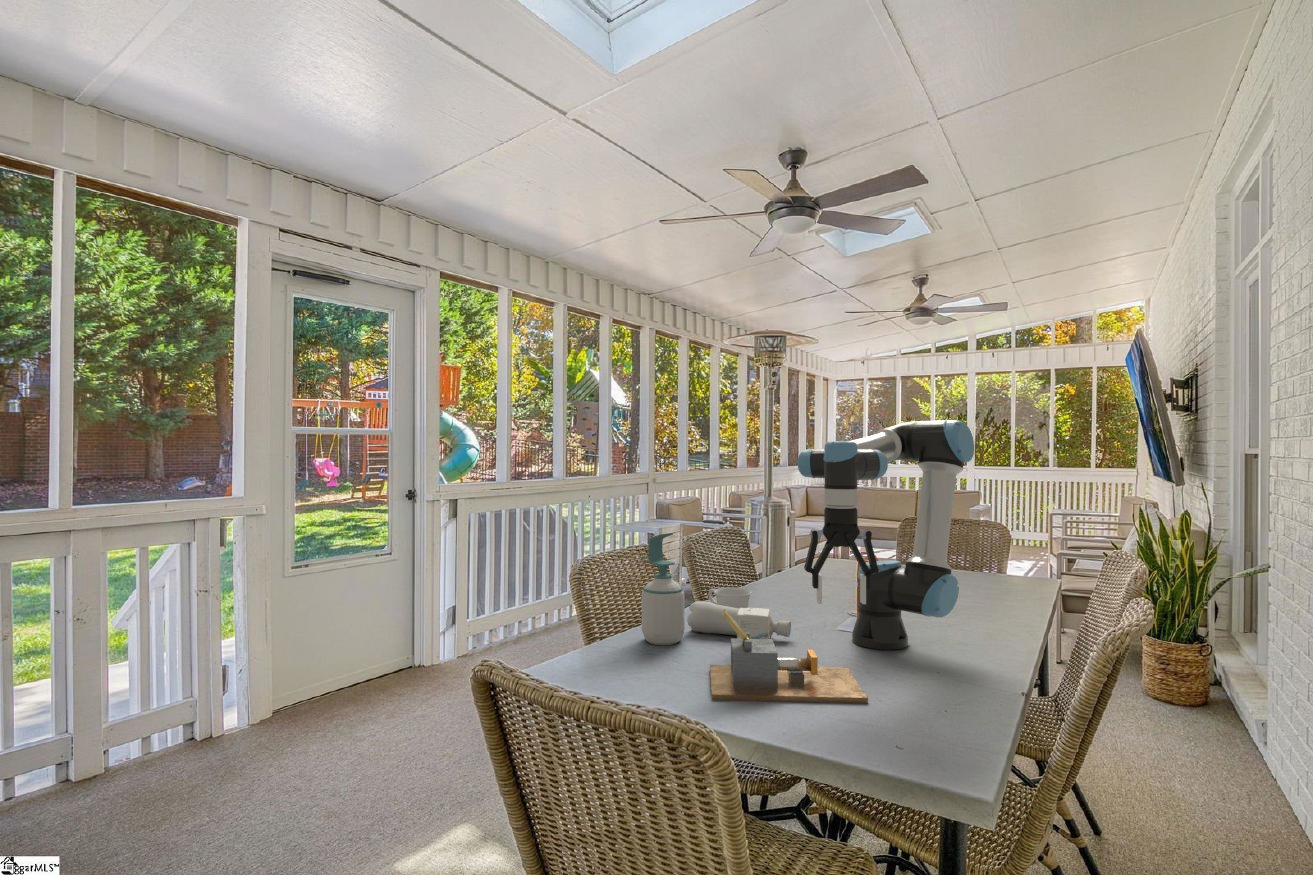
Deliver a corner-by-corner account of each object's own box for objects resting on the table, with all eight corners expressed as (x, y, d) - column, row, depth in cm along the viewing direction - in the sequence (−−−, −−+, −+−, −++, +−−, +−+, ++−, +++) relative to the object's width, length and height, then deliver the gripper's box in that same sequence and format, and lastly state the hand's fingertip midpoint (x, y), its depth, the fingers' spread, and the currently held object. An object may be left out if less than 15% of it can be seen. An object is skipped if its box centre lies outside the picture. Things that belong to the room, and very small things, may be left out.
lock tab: (745, 641, 159) (749, 638, 159) (747, 646, 155) (751, 643, 155) (721, 611, 160) (725, 608, 160) (722, 616, 155) (726, 613, 155)
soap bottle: (661, 650, 184) (661, 536, 184) (632, 640, 193) (632, 532, 193) (693, 641, 192) (693, 533, 192) (664, 632, 201) (664, 529, 201)
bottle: (683, 624, 198) (784, 639, 186) (690, 595, 202) (789, 608, 191) (692, 635, 205) (789, 649, 193) (698, 606, 209) (793, 619, 198)
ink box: (768, 660, 175) (768, 615, 175) (736, 658, 176) (736, 614, 177) (770, 650, 183) (769, 608, 183) (739, 648, 185) (739, 606, 185)
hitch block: (847, 672, 166) (847, 627, 166) (867, 703, 146) (867, 651, 146) (710, 669, 168) (709, 625, 168) (711, 700, 148) (711, 649, 148)
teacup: (718, 614, 222) (718, 584, 222) (758, 621, 214) (758, 590, 214) (699, 622, 213) (699, 590, 213) (740, 629, 204) (740, 597, 204)
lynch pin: (813, 667, 159) (812, 649, 159) (817, 675, 153) (817, 657, 153) (756, 666, 160) (756, 648, 160) (758, 674, 154) (758, 656, 154)
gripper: (884, 505, 159) (884, 599, 159) (790, 505, 161) (791, 598, 160) (893, 508, 152) (893, 607, 152) (795, 508, 153) (795, 605, 153)
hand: (841, 602), depth 156 cm, fingers open, 9 cm apart
